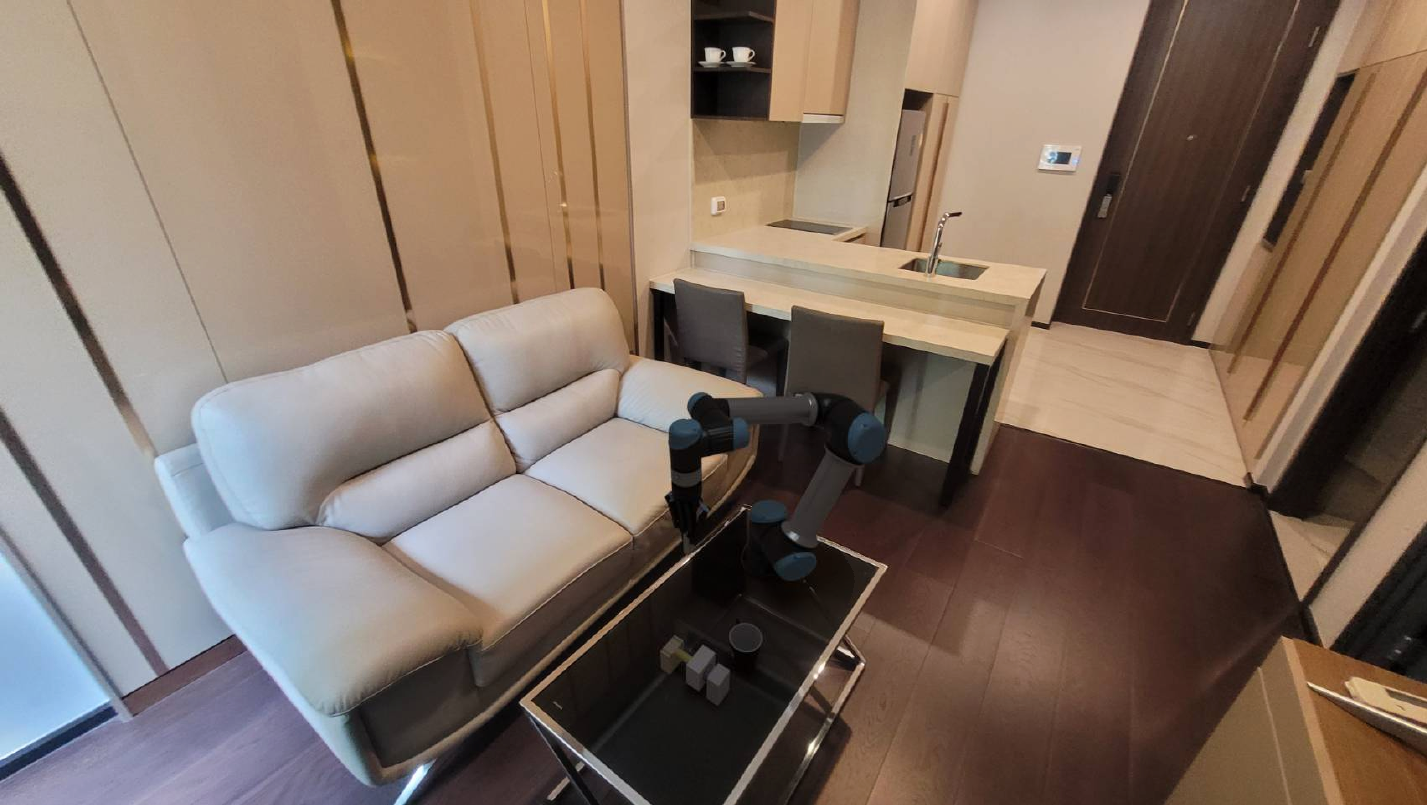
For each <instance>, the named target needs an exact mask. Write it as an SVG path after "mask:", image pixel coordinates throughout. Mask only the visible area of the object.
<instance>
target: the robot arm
mask: <svg viewBox="0 0 1427 805" xmlns="http://www.w3.org/2000/svg"><path fill="white" fill-rule="evenodd" d="M686 409H687V413H688V415H689V416H690V418H688V419H687V418H679V419H676V420H675V421H673V422H672V423H671V424H670V426H669V427H668V440H667V443H668V444H667V445H668V449H669V450H668V451H669V463H670V464H669V465H670V466H669V467H670V480H671V481H670V486H671V490H670V491H668V493H667V494H665V495H664V497H663V498H664V499H665V501H666V504H667V506H668V509H669V513H670V516H671V520H672V524H673V527H674V528H675V529H678V530H679V532H680V536H681V537H680V538H681V541H682V542H683V553H684V554H686V555H688V556H689V555H691V553H692V552H693V551H694V550H695V544H696V542H697V538H698V537H699V536H700V535H701V534H702V533H703V532H704V528H705V526H706V523H707V518H708V514H710V512H711V511H712V507H710V506H706V505H704V500H703V498H702V492H703V480H702V479H703V469H702V468H703V467H702V464H703V463H702V459H703V458H708V457H711V456H712V457H713V456H715V455H721V454H725V453H730V452H736V451H737V450H741V449H744V448H747V447H748V446H749V444H750V441H751V433H750V428H749V426H755V425H756V426H757V425H758V426H759V425H780V424H781V425H782V424H803V425H804V426H806V427H817V428H818V429H822V430H823V431H825V433H827V434H828V435H829V436H828V437H827V439H826V441H825V443H824V445H823V446H824V449H825V451H826V452H825V454H824V457H823V459H822V460H821V462H820V464H819V466H818V468H817V469H816V471H815V473H814V475H813V476H812V478H811V480H810V482H809V484H808V486H807V488H806V490H805V492H804V493H803V495H802V497H801V499H800V500H799V502H798V504H797V506H796V507H795V510H794V512H793V513H792V515H791V516H790V517H791V518H790V519H788V515H789V513H788V509H787V507H786V506H785V505H784V504H783V503H782V502H779V501H776V500H770V499H766V500H764V499H763V500H761V501H757V502H756V503H754V504H753V505H752V506H751V508H750V510H749V512H748V530H747V531H748V532H747V542H746V544H745V545H744V547H743V550H742V552H741V555H740V564H741V567H742V568H743V570H744V571H745V573H747V574H748V575H749V576H751V577H753V578H755V579H757V580H758V579H759V580H763V581H765V580H767V581H769V580H774V579H778V578H779V577H780V578H781V579H782V580H783V581H788V582H793V581H798V580H801V579H803V578H805V577H807V576H808V575H809V574H811V573H812V572H813V570H815V567H816V565H817V562H818V561H817V556H816V555H815V553H814V552H815V550H816V548H817V547H818V545H819V540H818V537H817V535H818V534H819V532H820V530H821V529H822V526H823V525H824V523H825V522H826V519H827V518H828V516H829V514H830V512H831V511H832V508H833V507H834V506H835V504H836V502H837V500H838V498H839V497H840V496H841V493H842V492H843V489H844V487H845V486H846V484H847V482H848V481H849V479H850V478H851V475H852V473H853V472H854V470H855V469H856V468H860V467H863V466H864V464H865V463H870V462H872V461H874V460H875V458H878V457H879V456H880V455H881V454H882V452H883V451H884V448H885V446H886V443H887V439H888V438H887V437H888V434H887V430H886V427H885V426H884V423H883V422H881V421H880V420H879V419H878V418H877V417H876V416H875V414H872V413H871V412H870V411H869V410H867V409H865V408H864V407H863V406H861V405H860V404H858V403H857V402H856V401H855V400H853V399H852V398H850V397H848V396H846V395H842V394H839V393H835V392H833V393H831V392H822V391H821V392H820V391H819V392H818V391H814V392H812V391H810V392H809V391H807V392H804V393H802V394H801V395H798V396H797V395H794V396H792V395H791V396H752V397H751V396H748V397H713V396H712V395H711V394H709V393H708V392H703V391H698V392H696V393H694V394H693V395H691V396H690V398H689V399H688V401H687V405H686ZM698 509H699V512H698ZM697 512H698V514H699V515H698V516H697Z"/></svg>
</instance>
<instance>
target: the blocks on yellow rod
mask: <svg viewBox="0 0 1427 805" xmlns="http://www.w3.org/2000/svg"><path fill="white" fill-rule="evenodd" d="M684 642H685V641H684V640H683V639H681V638H680V637H678V636H677V635H675V634H674V635H673V636H672V638H670V640H669V641H668V642H667V643H666V644H665V646H663V647H662V648H661V649H660V651H659V653H660V654H659V655H660V658H659V659H660V669H661V670H662V671H664V672H665V673H666V674H668V675H671V674H672V673H673V671H674V670H675V669H676V668H677V667H678V665H679V664H680V663H681V662H684V663H685V664H687V663H688V662H689V661H690V660H691V659H692V657H693V656H692V655H690V654H689V653H687V652H686V651H684V650H685V648H684V646H685V643H684ZM730 678H731V670H730V669H729V668H727V667H725V666H723V665H722V664H720V663H717V664H716V665H715V666H713V665H710V666H709V667H708V668H707V669H706V671H705V672H704V676H703V680H704V681H706V696H705V697H706V699H707V700H708V701H710V702H711V703H712V704H714V705H715V706H717V707H719V705H720V704H721V703H722V701H723V699H725V697H726V696H727V694H728V693H729V691H730V681H731V680H730Z"/></svg>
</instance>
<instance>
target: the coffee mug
mask: <svg viewBox="0 0 1427 805" xmlns="http://www.w3.org/2000/svg"><path fill="white" fill-rule="evenodd" d="M735 623H736V625H735V626H733V627H732V628H731V629H730V631H729V636H728V640H729V646H730V654H731V655H730V657H731V663H732V666H733V668H734V669H735V670H736V671H737V672H738V673H741V674H746V673H751V672H753V670H754V669H755V668H756V665H757V661H758V658H759V653H760V650H761V646H762V642H763V634H762V632H761V630H760V629H759V628H758V627H757V626H756V625H754V624H751V623H747V622H746V623H745V622H744V623H741V621H740V619H739V618H738V617H737V618H736V619H735Z"/></svg>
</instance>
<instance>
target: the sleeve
mask: <svg viewBox="0 0 1427 805" xmlns="http://www.w3.org/2000/svg"><path fill="white" fill-rule="evenodd" d="M716 654H717V653H716V652H715V651H713V650H711V648H709V647H707V646H705V645H704V644H702V645H701V646H700V648H699V649H698V650H697V651H696V652H695V654H694V655H693V656H692V659H691V660H690V661H689V662H688V663H686V665H685V675H686V676H685V677H686V679H685V681H686V682H685V683H686V684H688V685H689V686H690V687H692V688H693V689H695V690H696V691H697V692H700V691H701V690H702V688H703V687H704V686H705V685H706V684H707V682H706V681H704V680H703V676H704V672H705V671H706V669H707V668H708V667H709V666H710V665H713V666H716Z"/></svg>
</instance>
